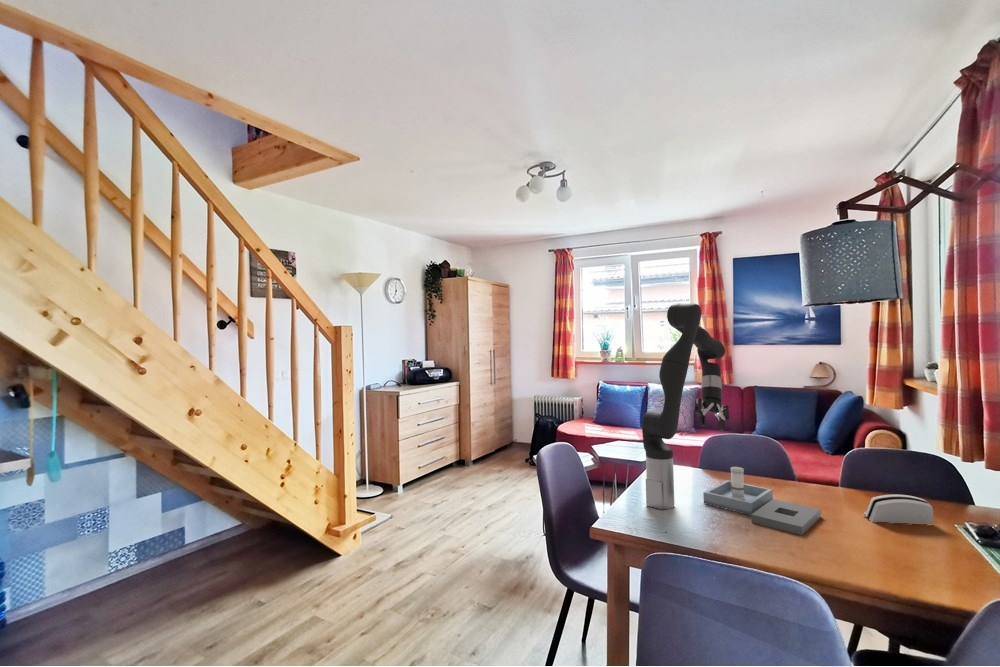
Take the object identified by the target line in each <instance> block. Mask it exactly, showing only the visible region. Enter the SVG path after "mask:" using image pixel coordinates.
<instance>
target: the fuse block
mask: <svg viewBox="0 0 1000 667" xmlns="http://www.w3.org/2000/svg"><path fill="white" fill-rule="evenodd" d="M821 511H822V510H821V508H817V507H811V506H807V505H803V504H797V503H793V502H789V501H784V500H779V499H774V498H773V499H772V500H771V501H769V502H768V503H767V504H765V505H764V506H762V507H761V508H759V509H758V510H757V511H755V512H754V513H752V514H751V515H750V517H751V518H750V519H751V522H750V523H753V524H756V525H760V526H765V527H768V528H772V529H776V530H781V531H783V532H787V533H792V534H795V535H799V536H803V535H804V534H805V533H806V532H808V531H809V530H810V528H811V527H813V525H814V524H816V523H817V522H818V520H820V519H821V518H822V512H821Z"/></svg>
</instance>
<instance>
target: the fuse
mask: <svg viewBox="0 0 1000 667" xmlns="http://www.w3.org/2000/svg"><path fill="white" fill-rule="evenodd" d="M744 470H745V468H743V467H741V466H740V467H739V466H731V467H730V481H731V488H732V495H731V497H732V498H736V499H740V500H745V496H744V484H745V483H744V482H745V476H744V475H745V474H744V473H745V471H744Z"/></svg>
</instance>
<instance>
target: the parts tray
mask: <svg viewBox="0 0 1000 667" xmlns="http://www.w3.org/2000/svg"><path fill="white" fill-rule="evenodd" d="M773 493H774V492H773V488H766V487H763V486H757V485H753V484H748V483H744V496H745V500H740V499H736V498H732V497H731V495H732V488H731V480H728V479H726V480H724V481H722V482H720V483H719V484H717V485H715V486H713V487H710V488H709V489H707V490H705V491H703V493H702V494H703V504H704V503H707V504H706V505H708V504H711V505H710V506H712V505H715V506H714V507H716V506H719V507H718V508H720V507H723V508H722V509H724V508H727V509H726V510H728V509H731V510H730V511H732V510H735V511H734V512H736V511H738V512H737V513H740V512H742V513H741V514H744V513H745V515H748V516H751V514H752V513H754V512H755V511H757V510H758V509H759V508H761V507H762V506H764V505H765V504H767V503H768V502H769V501H771V500H772V499H774V497H773V496H774V495H773Z"/></svg>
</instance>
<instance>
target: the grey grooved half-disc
mask: <svg viewBox="0 0 1000 667" xmlns="http://www.w3.org/2000/svg"><path fill="white" fill-rule="evenodd" d="M864 516H866V517H865V518H868V521H869V520H870V521H872V522H871V523H876V522H889V523H888V524H894V523H913V524H932V525H934V524H933V521H934V507H933V506H932V505H931V504H930V503H929V501H927V500H925V499H923V498H921V497H917V496H913V495H907V494H884V495H878V496H873V497H871V498H870V502H869V505H868V507H867V508H866V511H864V512H863V517H864ZM870 521H869V522H870Z"/></svg>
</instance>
